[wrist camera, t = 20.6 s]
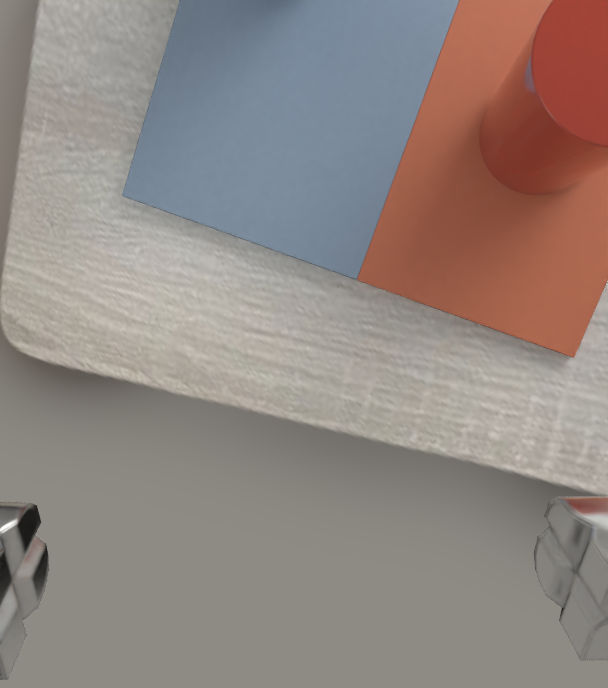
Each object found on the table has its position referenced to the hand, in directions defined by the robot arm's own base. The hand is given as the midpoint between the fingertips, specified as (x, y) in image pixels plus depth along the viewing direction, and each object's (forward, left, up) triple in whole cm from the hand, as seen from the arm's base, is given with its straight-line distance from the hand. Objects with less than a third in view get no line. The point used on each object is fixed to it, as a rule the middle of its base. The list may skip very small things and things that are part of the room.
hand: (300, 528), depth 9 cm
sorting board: (-2, +14, -22) cm, 26 cm away
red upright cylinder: (+5, +14, -22) cm, 26 cm away
